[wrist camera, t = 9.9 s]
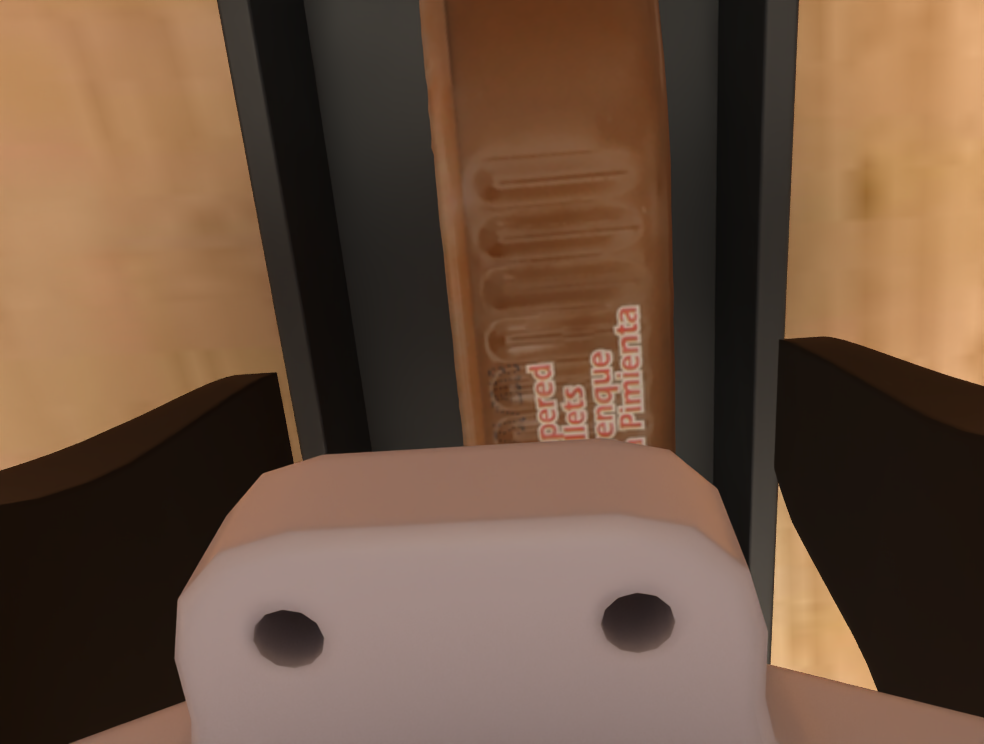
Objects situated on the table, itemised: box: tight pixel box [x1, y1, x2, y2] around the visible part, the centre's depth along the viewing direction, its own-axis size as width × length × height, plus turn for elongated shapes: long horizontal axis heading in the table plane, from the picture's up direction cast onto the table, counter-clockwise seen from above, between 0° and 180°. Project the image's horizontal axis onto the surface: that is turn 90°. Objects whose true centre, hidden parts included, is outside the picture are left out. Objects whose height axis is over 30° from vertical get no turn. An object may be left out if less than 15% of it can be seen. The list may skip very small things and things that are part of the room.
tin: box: [419, 0, 676, 455], centre depth 15 cm, size 15×3×8 cm, turn 5°
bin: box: [217, 0, 799, 665], centre depth 17 cm, size 18×8×4 cm, turn 5°
